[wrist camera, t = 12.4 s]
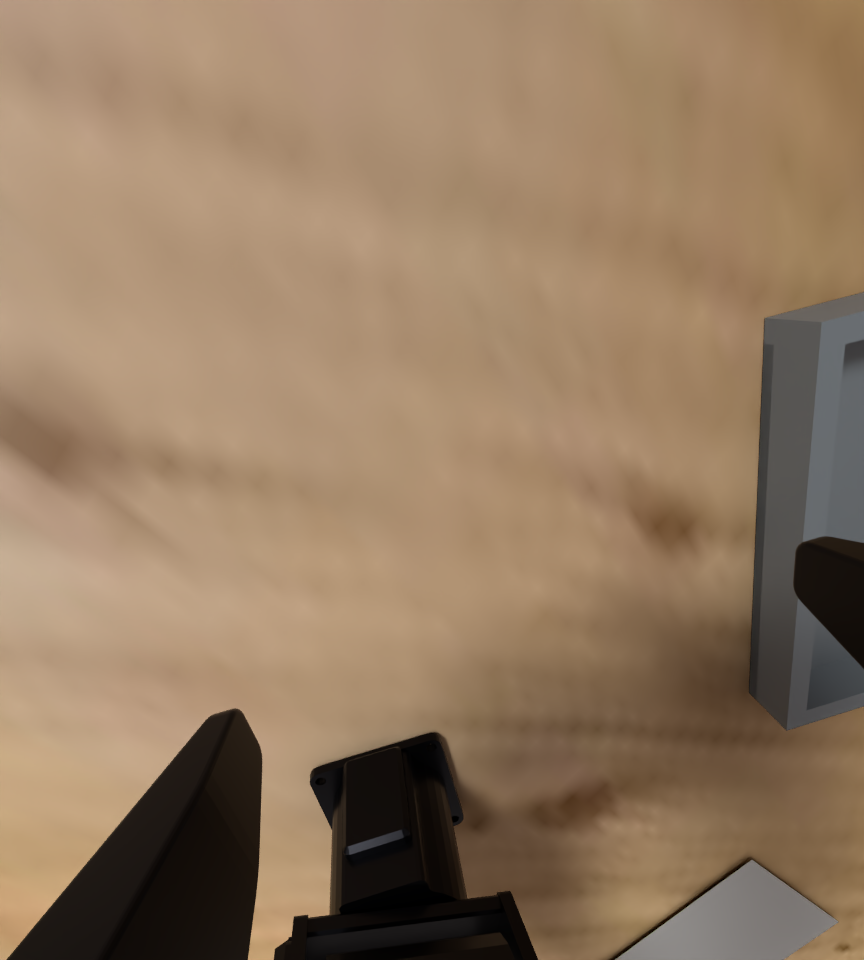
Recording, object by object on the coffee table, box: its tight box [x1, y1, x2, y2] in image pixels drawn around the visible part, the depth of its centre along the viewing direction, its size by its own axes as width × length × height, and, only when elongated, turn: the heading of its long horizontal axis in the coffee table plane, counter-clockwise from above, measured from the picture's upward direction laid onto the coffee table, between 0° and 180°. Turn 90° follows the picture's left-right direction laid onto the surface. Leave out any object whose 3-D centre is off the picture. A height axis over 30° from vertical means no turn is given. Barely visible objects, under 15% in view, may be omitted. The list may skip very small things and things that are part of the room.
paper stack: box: [615, 860, 838, 960], centre depth 34 cm, size 23×25×1 cm
